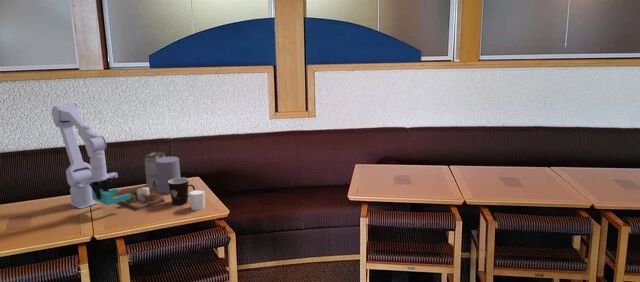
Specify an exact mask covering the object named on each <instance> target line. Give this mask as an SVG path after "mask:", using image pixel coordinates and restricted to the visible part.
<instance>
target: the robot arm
mask: <svg viewBox="0 0 640 282" xmlns="http://www.w3.org/2000/svg"><path fill="white" fill-rule="evenodd" d="M51 117H52V121H53V124H54V126H55V127H57V128H58V129H59V130H60V133H61V137H62V140H63V144H64V147H65V150H66V153H67V156H68V159H69V162H70V165H69V166H68V168H67V169H66V170H65V174H66V181H67V184H68V185H69V186H70V189H69V193H70V199H71V202H70V203H69V205H70V206H74V207H76V208H77V209H80V210H81V209H84V208H86V207H90V206H94V205H98V201H96V200H94V199H93V197H92V189H93V191H94V193H95V195H96V198H97V199H99V200H100V199H101V194H100V189H101V188H102V190H104V191H107V192H109V190H110V188H111V185H112V184H113V181H112V179H114V178H116V179H117V178H118V177H119V175H118V172H115V171H114V172H109V173H107V163H106V155H105V150H106V149H107V147H108V146H107V145H108V144H107V141H106V138H105V136H102V135H100V134H98V133H97V132H96V131H95V130H94V128H93V127H92V126H91V125H89V124H86V122H85V120H84V119H83V118H82V116H81V108H80V106H79V105H78V103H76V102H73V103H67V104H61V105H54V106H53V107H52V108H51ZM73 126H74V127H75V128H76V129H77V134H78V136H79V138H81V140H82V141H83V142H84V144H85V145H84V146H85V150H86V152H87V156H88V157H89V161H90V162H89V163H87V162H85V161H84V160H83V157H82V153H81V151H80V147H79V143H78V140H77V137H76V134H75V131H74V127H73Z"/></svg>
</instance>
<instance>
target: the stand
mask: <svg viewBox="0 0 640 282" xmlns="http://www.w3.org/2000/svg"><path fill="white" fill-rule="evenodd" d="M130 195H131V199H128V200H124V201H121V202H117V203H118V204H121V205H124V206H126V207H128V208H131V209H133V210H136V211H140V210H143V209H146V208H149V207H153V206H155V205H158V204H161V203H164V202H165V199H164V198H162V197H159V196H156V194H155V193H150V189H149V188H148V187H147V186H145V187H143V186H142V187H138V188H136V189H132V190H131V194H130Z"/></svg>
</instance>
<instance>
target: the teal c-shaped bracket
mask: <svg viewBox="0 0 640 282" xmlns="http://www.w3.org/2000/svg"><path fill="white" fill-rule="evenodd" d="M100 194H101V199H100V200H99V199H97V198H96V195H95V193H94V191H93V189H92V197H93V201H95V202H97V203H98V202H99V203H101V204H103V205H106V206H110V205H113V204H117V203H118V202H121V201H124V200H128V199H131V195H132V194H131V193H125V194H122V195H119V196H115V197H113V195H115V194H118V188H112V189H109V192H107V191H104V190H103V188H102V189H101V188H100Z"/></svg>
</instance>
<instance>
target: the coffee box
mask: <svg viewBox="0 0 640 282" xmlns="http://www.w3.org/2000/svg"><path fill="white" fill-rule="evenodd" d="M162 157H166V152H165V151H152V152H150V153H148V154H146V155H144V156H143V161H144V162H143V163H144V171H145V178H146V187H148V188H149V190H158V180H157V170H156V159H158V158H162Z"/></svg>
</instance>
